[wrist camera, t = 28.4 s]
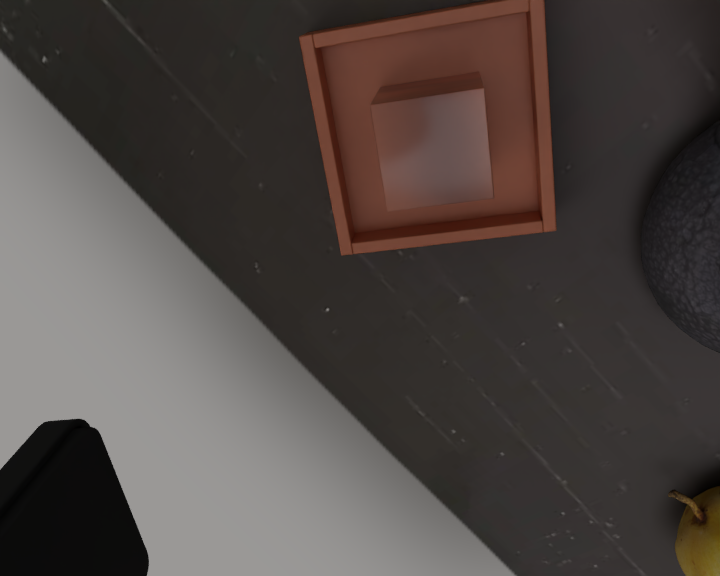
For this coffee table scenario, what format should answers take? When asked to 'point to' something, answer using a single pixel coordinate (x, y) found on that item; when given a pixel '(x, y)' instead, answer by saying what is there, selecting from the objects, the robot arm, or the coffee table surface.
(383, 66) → the terracotta tray
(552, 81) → the coffee table surface
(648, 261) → the teapot
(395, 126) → the block
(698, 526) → the fruit
